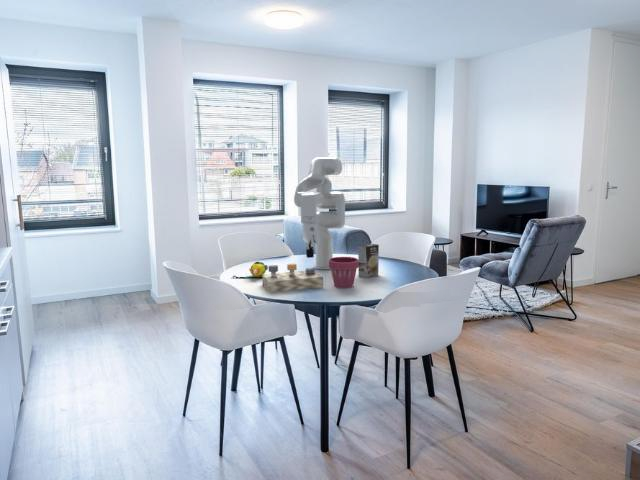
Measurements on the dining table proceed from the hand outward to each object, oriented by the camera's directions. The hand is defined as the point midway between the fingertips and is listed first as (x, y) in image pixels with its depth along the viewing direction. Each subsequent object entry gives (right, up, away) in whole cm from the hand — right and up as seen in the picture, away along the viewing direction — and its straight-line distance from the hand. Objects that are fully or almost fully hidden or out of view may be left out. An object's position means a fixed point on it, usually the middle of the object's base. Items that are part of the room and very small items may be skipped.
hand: (310, 257), depth 230 cm
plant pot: (+16, -14, -3) cm, 21 cm away
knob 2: (0, -11, +1) cm, 12 cm away
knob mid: (-9, -9, -2) cm, 13 cm away
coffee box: (+30, -10, +17) cm, 36 cm away
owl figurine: (-27, -12, +20) cm, 36 cm away
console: (-8, -14, -1) cm, 16 cm away
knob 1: (-17, -10, -5) cm, 20 cm away
